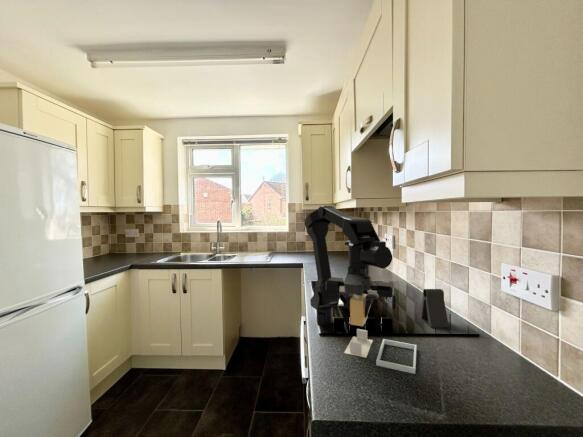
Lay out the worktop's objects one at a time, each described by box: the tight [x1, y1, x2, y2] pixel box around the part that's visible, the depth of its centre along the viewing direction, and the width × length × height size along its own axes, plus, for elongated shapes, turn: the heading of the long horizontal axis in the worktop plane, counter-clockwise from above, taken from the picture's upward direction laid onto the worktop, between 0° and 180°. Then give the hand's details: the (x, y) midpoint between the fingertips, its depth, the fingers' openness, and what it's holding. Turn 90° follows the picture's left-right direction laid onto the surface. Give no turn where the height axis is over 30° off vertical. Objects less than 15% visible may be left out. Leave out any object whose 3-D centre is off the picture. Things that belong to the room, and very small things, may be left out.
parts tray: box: [375, 338, 417, 375], centre depth 73 cm, size 13×9×2 cm
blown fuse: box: [349, 293, 369, 327], centre depth 78 cm, size 7×4×8 cm, turn 154°
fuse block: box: [343, 328, 374, 359], centre depth 78 cm, size 11×6×4 cm, turn 154°
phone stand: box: [418, 288, 450, 329], centre depth 97 cm, size 9×6×12 cm, turn 178°
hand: (359, 316), depth 78 cm, fingers closed on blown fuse, 3 cm apart
